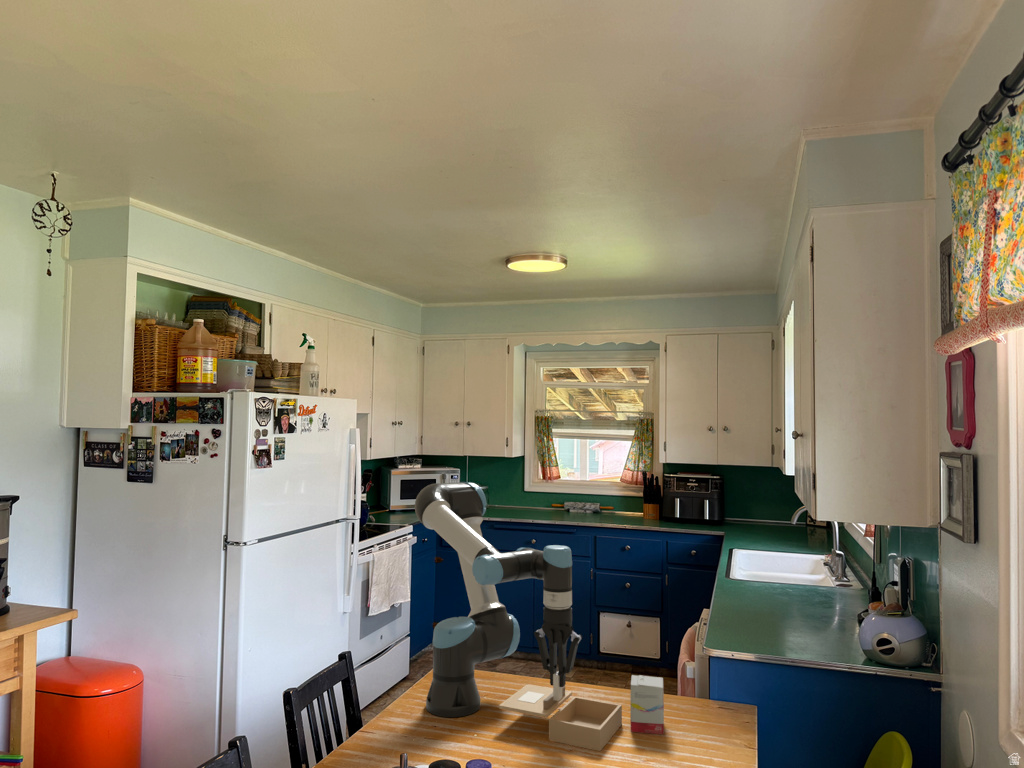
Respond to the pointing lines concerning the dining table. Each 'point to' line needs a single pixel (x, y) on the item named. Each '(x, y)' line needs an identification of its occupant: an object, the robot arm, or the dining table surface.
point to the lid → (534, 701)
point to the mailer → (585, 723)
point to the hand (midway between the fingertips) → (557, 698)
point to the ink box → (647, 704)
